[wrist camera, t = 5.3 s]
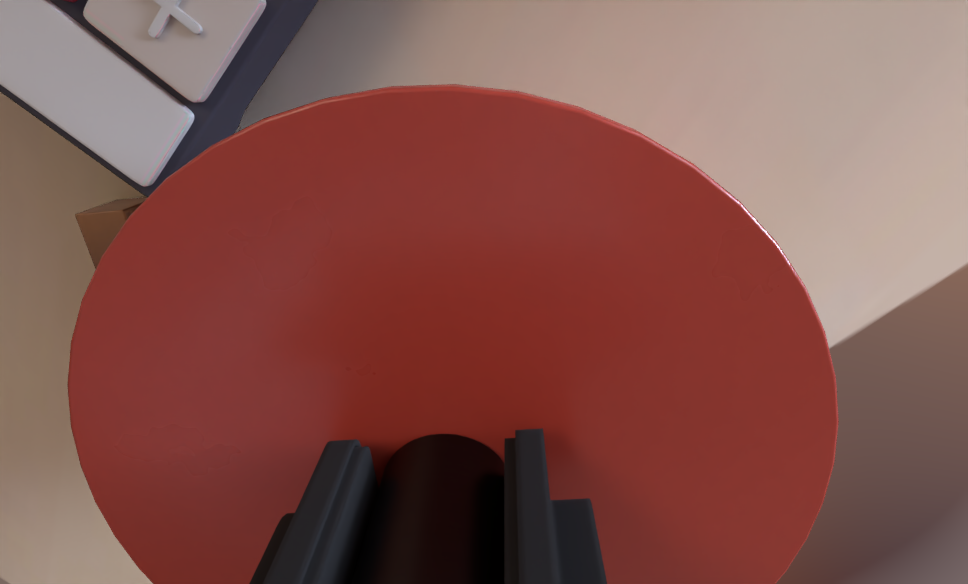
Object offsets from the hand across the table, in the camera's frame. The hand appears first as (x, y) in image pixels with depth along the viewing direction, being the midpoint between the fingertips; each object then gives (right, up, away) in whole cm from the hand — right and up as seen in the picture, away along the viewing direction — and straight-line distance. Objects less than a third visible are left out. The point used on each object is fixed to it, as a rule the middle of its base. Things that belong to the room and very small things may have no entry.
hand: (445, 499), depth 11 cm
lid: (0, 0, +1) cm, 1 cm away
